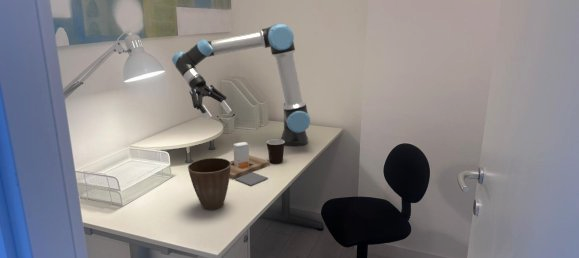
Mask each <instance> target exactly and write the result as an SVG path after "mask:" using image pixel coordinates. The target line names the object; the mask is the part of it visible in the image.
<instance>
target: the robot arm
mask: <svg viewBox="0 0 579 258" xmlns="http://www.w3.org/2000/svg"><path fill="white" fill-rule="evenodd" d="M294 37H295V36H294V33H293V30H292V29H291V27H289V26H288V25H286V24H283V23H277V24H273V25H271V26H268V27H266V28H261V29H260V30H259V31H256V32H251V33H250V32H249V33H246V34H245V33H244V34H240V35H236V36H229V37H225V38H220V39H215V40H209V41H207V40H206V39H203V38H202V39H201V40H200V41H198V42H197V43H196V44H195V45H194V46H193V47H191V48H190V49H189V50H188V51H186V52H185V51H178V52H177V53H175V54H174V55H173V56H172V59H171V61H172V63H173V65H174V67H175V68H176V69H177V71H178V72H179V73H180V75H181V76H182V78H183V79H184V81H186V83H187V85H188V86H189V88H190V90H189V95H190V97H191V101H192V102H191V103H192V106H193V108H194V109H196V110H198V111H200V112H201V113H202V114H203V115H204V116H205V118H206V119H207V120H208V121H209V120H210V119H211V118H212V117H213V115H212V114H211V113H210V111H209V110H208V109H207V107H206V106H205V104H203V98H204V97H210V98H212V99H213V100H216V101H218V102H219V104H220V106H221V107H222V108H223V109H224V111H225V112H226V114H227V115H230V113H231V112H232V110H233V109H231V108H230V106H229V103H227V101H226V99H227V98H228V97H227V96H226V95H224V94H223V93H222V92H221V91H219V90H218V89H216V88H215V86H214V85H213V84H210V85H209V86H208V85H207V82H206V79H205V78H204V77H203V76H202V74H201V72H200V71H199V70H198V69H197V68H196V66H198V65H199V63H202V61H204V60H205V59H206V58H209V57H215V56H219V55H223V54H230V53H234V52H240V51H246V50H250V49H255V48H256V49H257V48H261V47H262V48H264V49H266V48H270V52H271V56H273V57H274V58H275V61H276V66H277V70H278V75H279V80H280V84H281V89H282V93H283V97H284V103H283V107H282V108H283V130H282V135H281V136H280V137H281V138H280V140H284V141H285V144H284V146H290V147H300V146H304V145H306V144H307V145H308V143H309V137H308V135H307V132H306V130H307V129H308V128H309V127H310V124H311V117H310V114H309V112H308V108H307V103H306V102H305V101H303V98H302V94H301V88H300V83H299V79H298V78H299V77H298V73H297V67H296V63H295V59H294V52H295V51H296V48H295V44H294V43H295V42H294V39H295V38H294Z"/></svg>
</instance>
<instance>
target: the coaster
mask: <svg viewBox="0 0 579 258" xmlns="http://www.w3.org/2000/svg"><path fill="white" fill-rule="evenodd" d="M268 180H269V177H267V176H264V175H262V174H259V173H256V172H251V173H249V174H246V175H243V176H241V177H238V178H236V179H234V181H236V182H239V183H242V184H244V185H247V186H249V187H252V186H256V185H257V184H260V183H262V182H265V181H268Z"/></svg>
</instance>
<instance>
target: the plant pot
mask: <svg viewBox="0 0 579 258" xmlns="http://www.w3.org/2000/svg"><path fill="white" fill-rule="evenodd" d="M230 162H231V160H228V159H227V158H219V157H209V158H202V159H198V160H196V161H193V162H191V163H189V164H188V166H187V168H188V174H189V177H190V181H191V184H192V186H193V189H194V191H195V194H196V197H197V199H198V201H199V203H200V205H201V207H202V208H203V209H204V210H206V211H207V210H208V211H215V210H219V209H220V208H222V207H223V206H224V203H225V200H226V197H227V192H228V189H229V183H230V179H231V178H230V167H231V163H230Z"/></svg>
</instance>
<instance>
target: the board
mask: <svg viewBox="0 0 579 258" xmlns="http://www.w3.org/2000/svg"><path fill="white" fill-rule="evenodd" d="M230 163H231V167H230V178H229V179H231V180H234V181H235V179H236V178H238V177H241V176H243V175H246V174H249V173H251V172H253V173H255V172H256V171H259V170H262V169H265V168H267V167H269V166H270V164H271V163H270V161H269V160H266V159H263V158H259V157H257V156H254V155H251V154H249V167H246V168H244V169H242V168H239V167H236V166H234V159H233V160H230Z"/></svg>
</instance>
